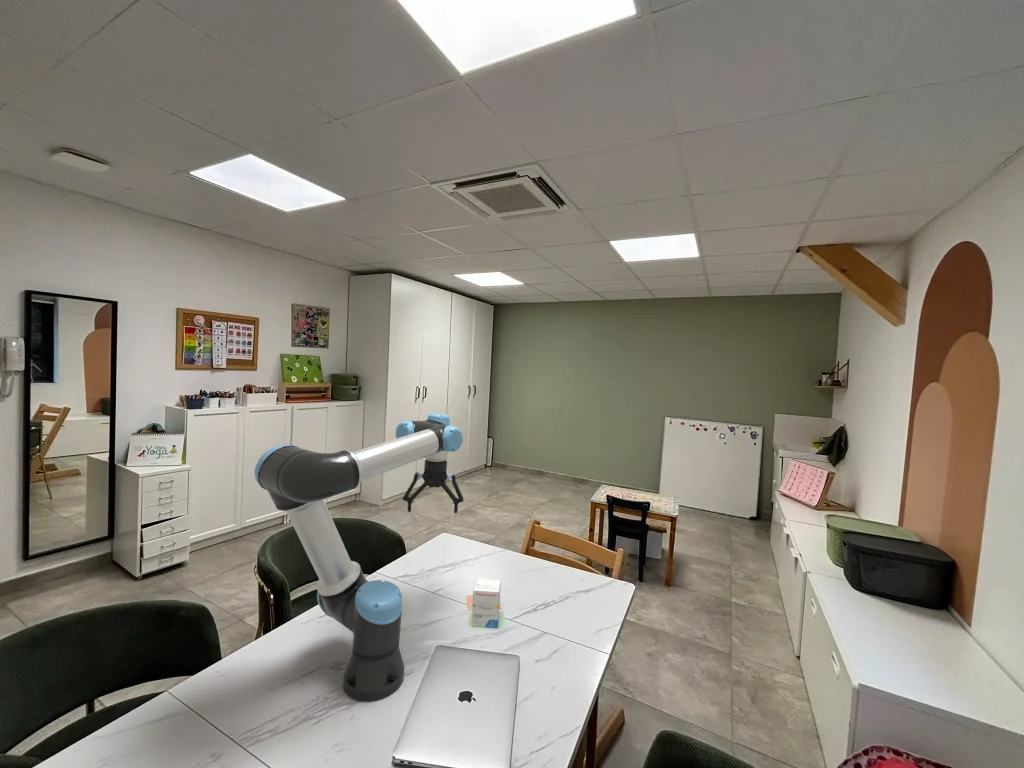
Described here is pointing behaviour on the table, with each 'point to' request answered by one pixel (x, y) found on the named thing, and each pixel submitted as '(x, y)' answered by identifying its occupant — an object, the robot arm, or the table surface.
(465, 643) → the table surface
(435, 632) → the table surface
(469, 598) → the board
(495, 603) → the ink box
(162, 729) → the table surface
